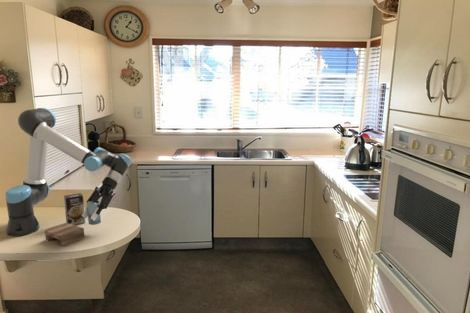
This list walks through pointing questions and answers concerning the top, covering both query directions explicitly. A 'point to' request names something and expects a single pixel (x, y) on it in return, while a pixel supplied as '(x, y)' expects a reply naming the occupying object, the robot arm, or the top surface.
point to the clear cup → (90, 209)
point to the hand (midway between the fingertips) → (88, 218)
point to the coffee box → (74, 209)
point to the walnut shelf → (65, 233)
